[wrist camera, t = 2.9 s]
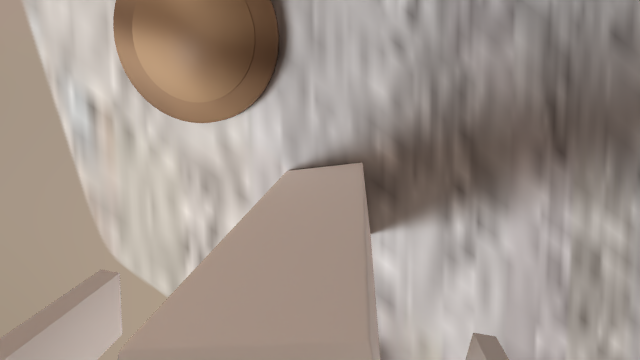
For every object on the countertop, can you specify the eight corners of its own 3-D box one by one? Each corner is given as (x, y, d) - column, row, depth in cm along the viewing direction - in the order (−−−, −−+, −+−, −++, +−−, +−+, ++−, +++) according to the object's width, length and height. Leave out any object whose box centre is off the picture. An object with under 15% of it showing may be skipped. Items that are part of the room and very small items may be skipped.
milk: (286, 170, 26) (-50, 504, 5) (364, 161, 25) (379, 525, 4) (298, 241, 27) (80, 748, 6) (372, 235, 26) (417, 805, 5)
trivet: (117, -63, 23) (108, -69, 22) (286, -48, 22) (283, -54, 21) (124, 111, 26) (116, 112, 25) (272, 131, 25) (269, 133, 24)
